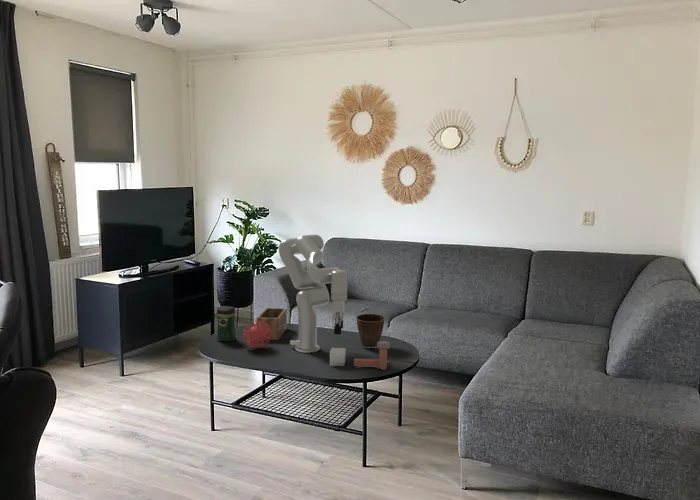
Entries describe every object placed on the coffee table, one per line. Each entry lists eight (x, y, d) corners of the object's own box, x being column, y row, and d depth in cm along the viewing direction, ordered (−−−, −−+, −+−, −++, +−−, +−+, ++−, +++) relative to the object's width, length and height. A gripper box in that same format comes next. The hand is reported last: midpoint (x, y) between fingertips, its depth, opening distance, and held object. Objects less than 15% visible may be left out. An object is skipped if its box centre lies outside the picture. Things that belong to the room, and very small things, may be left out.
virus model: (275, 344, 301) (274, 317, 299) (266, 353, 286) (266, 325, 284) (248, 343, 303) (247, 315, 301) (238, 351, 289) (238, 323, 286)
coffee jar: (238, 338, 311) (237, 305, 308) (230, 342, 303) (230, 308, 300) (222, 336, 313) (221, 303, 311) (214, 340, 306) (214, 307, 303)
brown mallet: (353, 368, 267) (353, 344, 265) (354, 363, 274) (355, 339, 272) (389, 370, 266) (389, 345, 264) (389, 365, 273) (390, 341, 271)
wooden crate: (256, 339, 310) (256, 317, 308) (266, 327, 332) (266, 307, 330) (278, 340, 309) (278, 318, 307) (286, 328, 331) (286, 308, 329)
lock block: (329, 366, 270) (329, 352, 269) (331, 361, 277) (331, 347, 276) (344, 366, 270) (344, 352, 269) (345, 362, 276) (345, 348, 275)
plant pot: (387, 350, 294) (388, 320, 292) (359, 352, 291) (359, 322, 289) (379, 342, 308) (380, 313, 306) (353, 343, 305) (353, 314, 303)
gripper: (333, 291, 277) (332, 325, 280) (329, 300, 260) (328, 336, 263) (348, 292, 277) (348, 326, 279) (345, 300, 260) (344, 336, 262)
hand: (338, 331), depth 271 cm, fingers open, 9 cm apart
